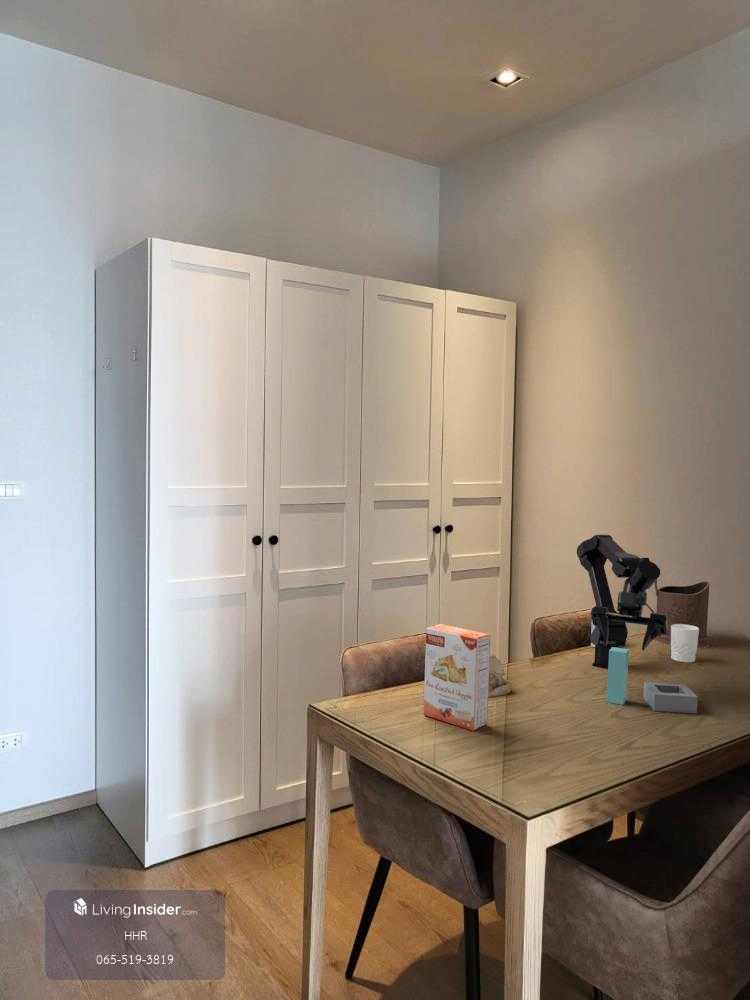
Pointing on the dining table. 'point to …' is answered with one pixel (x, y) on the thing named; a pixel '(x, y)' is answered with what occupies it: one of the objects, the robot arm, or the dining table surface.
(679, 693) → the socket
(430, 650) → the cracker box
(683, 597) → the rusty brown pitcher
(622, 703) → the plug
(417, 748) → the dining table surface
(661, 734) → the dining table surface
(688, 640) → the white cup
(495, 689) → the ceramic model
